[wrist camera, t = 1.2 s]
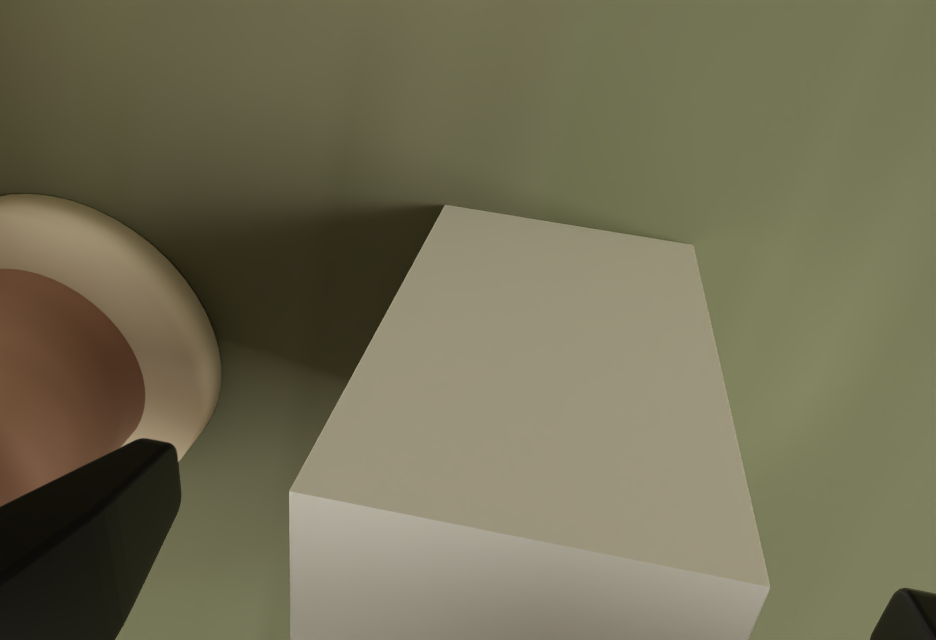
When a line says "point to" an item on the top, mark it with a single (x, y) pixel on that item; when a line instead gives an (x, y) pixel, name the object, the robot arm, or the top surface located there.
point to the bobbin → (92, 343)
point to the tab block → (531, 452)
